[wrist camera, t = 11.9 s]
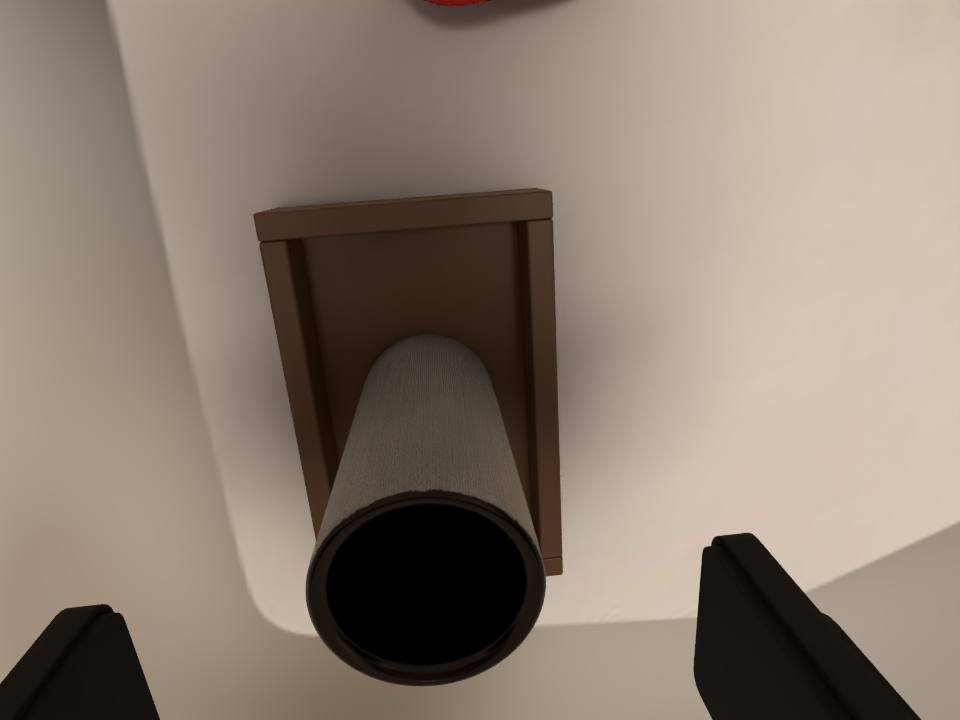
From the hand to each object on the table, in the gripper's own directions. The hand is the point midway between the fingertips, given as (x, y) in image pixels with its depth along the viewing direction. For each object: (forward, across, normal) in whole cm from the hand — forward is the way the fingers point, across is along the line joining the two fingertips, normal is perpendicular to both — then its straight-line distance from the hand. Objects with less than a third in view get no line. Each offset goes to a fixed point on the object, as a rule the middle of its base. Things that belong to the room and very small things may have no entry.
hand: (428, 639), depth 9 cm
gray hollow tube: (+12, 0, 0) cm, 12 cm away
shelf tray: (+12, 0, +1) cm, 12 cm away
